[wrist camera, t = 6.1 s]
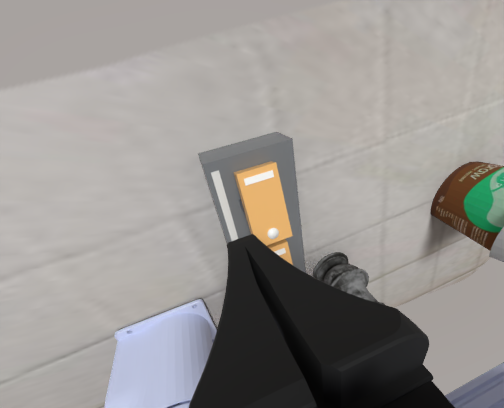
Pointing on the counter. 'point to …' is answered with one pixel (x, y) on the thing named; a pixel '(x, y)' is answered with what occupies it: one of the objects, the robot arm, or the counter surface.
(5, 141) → the counter surface
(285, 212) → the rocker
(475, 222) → the food container
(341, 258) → the salt shaker
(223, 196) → the rocker switch panel
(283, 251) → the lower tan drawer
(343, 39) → the counter surface
